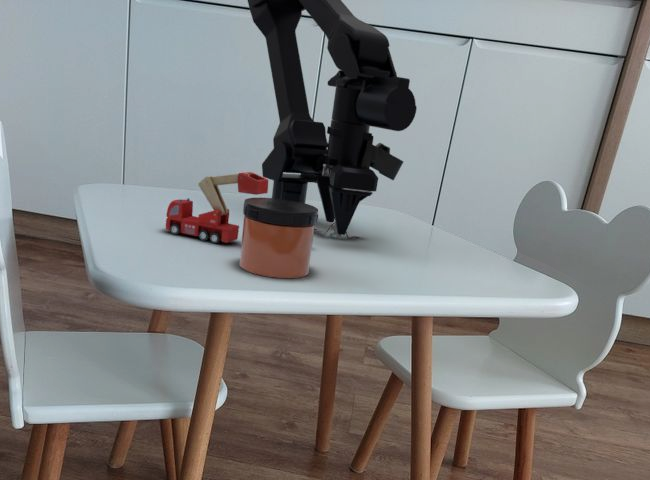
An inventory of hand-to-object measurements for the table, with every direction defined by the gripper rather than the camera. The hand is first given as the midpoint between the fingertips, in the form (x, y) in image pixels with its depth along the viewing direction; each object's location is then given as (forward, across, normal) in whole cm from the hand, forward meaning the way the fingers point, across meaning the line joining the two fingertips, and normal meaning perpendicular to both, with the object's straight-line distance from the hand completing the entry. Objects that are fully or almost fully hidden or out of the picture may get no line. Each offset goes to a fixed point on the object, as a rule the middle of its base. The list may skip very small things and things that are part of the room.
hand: (335, 228), depth 106 cm
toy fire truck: (+2, -11, +19) cm, 22 cm away
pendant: (+2, 0, 0) cm, 2 cm away
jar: (+1, -23, +12) cm, 26 cm away
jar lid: (-6, -23, +12) cm, 27 cm away
